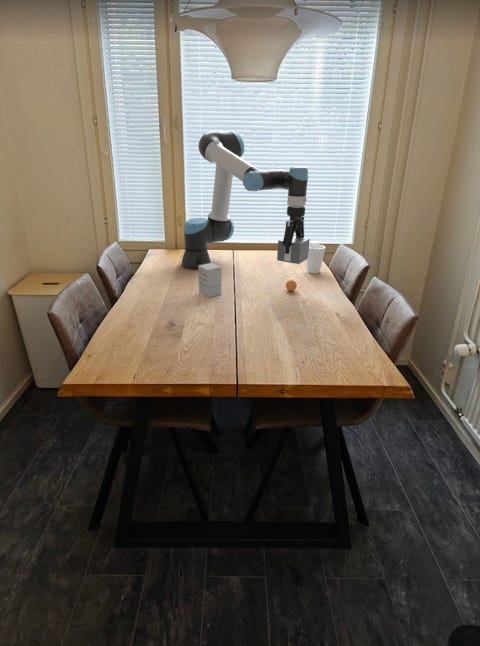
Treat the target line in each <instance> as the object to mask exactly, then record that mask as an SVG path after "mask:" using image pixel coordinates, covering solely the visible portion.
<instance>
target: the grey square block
mask: <svg viewBox="0 0 480 646" xmlns="http://www.w3.org/2000/svg"><path fill="white" fill-rule="evenodd" d="M283 240H284V237H283V238H282V237H281V238H280V239H278V240H277V251H276V252H277V253H276V255H277V256H276V260H277V261H279V262H284V263H289V264H295V265H300V264H301V263H303V262H305V261H307V259H308V252H309V244H310V238H306V237H304V238H301V237H296V236H293V239H292V243H291V246H292V249H291V261H285V260H284V255H285V246H284V245H283Z"/></svg>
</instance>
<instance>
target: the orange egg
mask: <svg viewBox="0 0 480 646" xmlns="http://www.w3.org/2000/svg"><path fill="white" fill-rule="evenodd" d="M285 288H286V290H287V291H289V292H294V291H296V289H297V288H298V284H297V281H295V280H294V279H289V280H288V281H286V282H285Z"/></svg>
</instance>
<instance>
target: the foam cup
mask: <svg viewBox="0 0 480 646" xmlns="http://www.w3.org/2000/svg"><path fill="white" fill-rule="evenodd" d="M325 252H326V246H325V245H323V244H317V243H309V252H308V259H306V271H307V273H310V274H319V273H320V272H321V267H322V264H323V259H324V255H325Z"/></svg>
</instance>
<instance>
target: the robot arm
mask: <svg viewBox="0 0 480 646" xmlns="http://www.w3.org/2000/svg"><path fill="white" fill-rule="evenodd" d="M198 141H199V142H198V147H197V148H198V151H199V153H200V155H201V157H202V158H203V159H205V160H206V161H207V162H209V163H211V164H212V163H215V174H214V183H213V184H214V185H213V192H212V193H213V194H212V195H213V196H212V202H211V203H212V204H211V211H210V213H208V215H207V218H205V217H198V218H197V217H193V218H190V219H188V220H186V221H185V223H184V225H183V226H184V227H183V228H184V229H183V233H184V234H183V235H184V252H183V256H182V259H181V266H182V267H183V268H184V269H185V268H186V269H189V270H199V267H198V266H199V265H204V264H209V263H212V260H211V257H210V253H209V251H208V245H209V244H213V243H219V242H225V241H228V240H230V239H231V238H232V236H233V234H234V230H235V225H234V222H233V220H232V219H231V216H230V215H229V211H230V210H229V209H230V201H231V193H232V187H233V185H232V184H233V178H234V177H235V178H236V179H238V180H240V182H242V185H243V187H244V189H245V190H247V192H258V191H265V190H266V191H269V190H277V189H278V190H279V189H280V190H281V189H283V190H287V204H286V205H287V207H286V215H287V216H289V220H286V221H285V229H284V235H283V238H284V240H283V245H284V246H285V255H284V260H285V261H291V249H292V246H291V243H292V239H293V236H294V234H295V236H294V237H301V238H305V214H306V207H305V206H306V202H307V201H308V199H307V190H308V189H307V188H308V180H309V170H308V167H307V166H299V165H293V166H290V167H289V170H285V169H280V168H272V169H269V170H261V169H259V168H257V167H255V166H254V165H252V164H251V163H250V162H247V161H246V160H245V159H243V158H241V157H242V156H243V155H244V153H245V141H244V139H243V137H242V136H241V133H240V134H239V132H237V131H230V130H226V131H225V130H224V131H222V130H221V131H214V130H213V131H208V132H206V133H204V134H202V135H201V137H200V139H199V140H198Z"/></svg>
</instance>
